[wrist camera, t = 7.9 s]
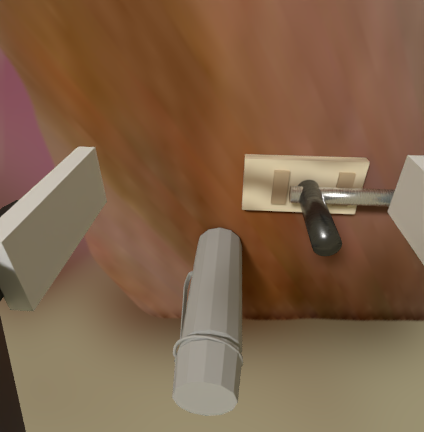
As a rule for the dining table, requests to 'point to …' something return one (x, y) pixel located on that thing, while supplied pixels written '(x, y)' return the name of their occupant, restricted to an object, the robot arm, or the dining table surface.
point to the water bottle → (211, 328)
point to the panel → (297, 179)
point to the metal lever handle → (319, 213)
